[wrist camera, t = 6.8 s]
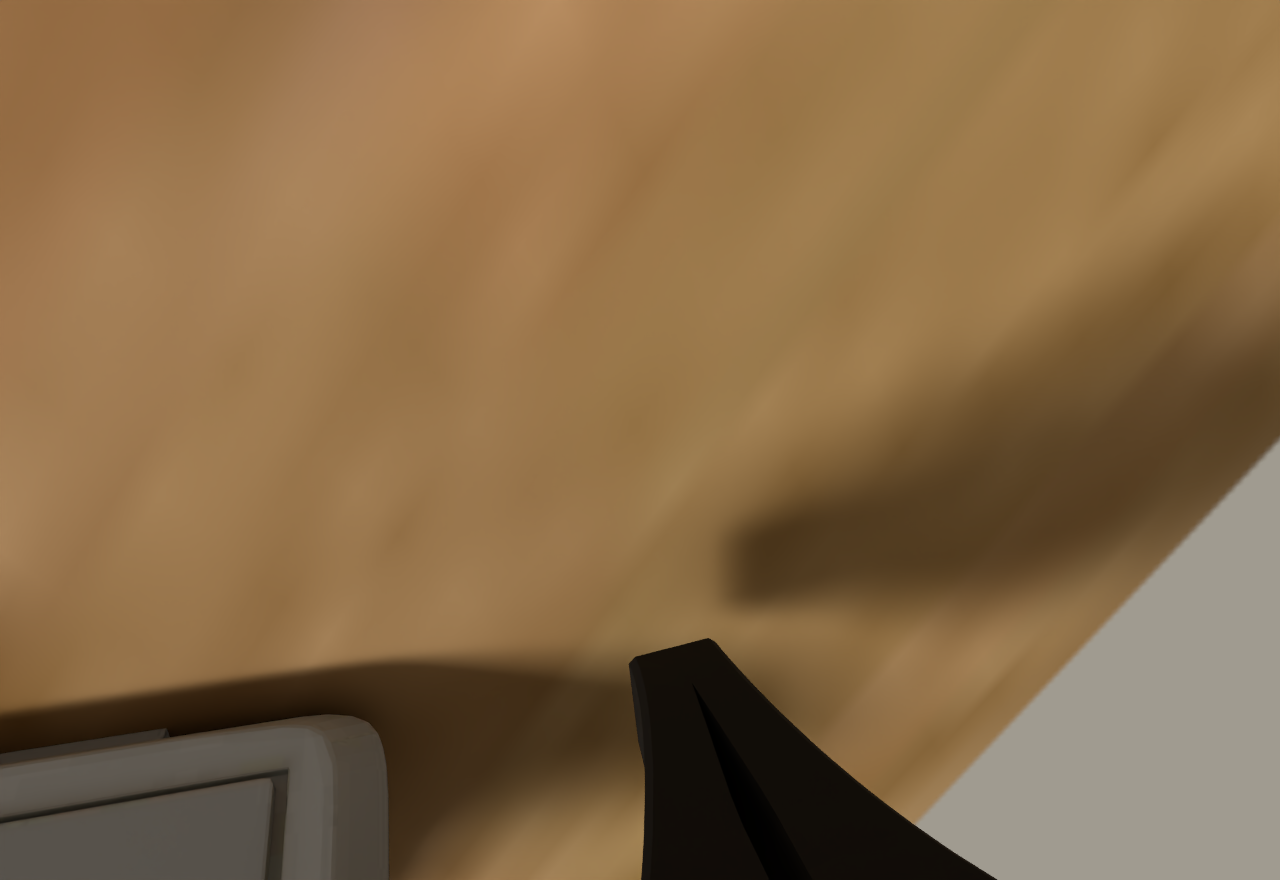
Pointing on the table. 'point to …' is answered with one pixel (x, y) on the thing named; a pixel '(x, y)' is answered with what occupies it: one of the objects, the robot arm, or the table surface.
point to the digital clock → (201, 805)
